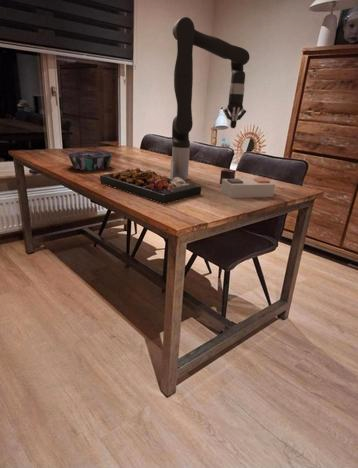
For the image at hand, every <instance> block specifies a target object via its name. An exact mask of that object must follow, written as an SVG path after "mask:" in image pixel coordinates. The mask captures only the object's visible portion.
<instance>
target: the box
mask: <svg viewBox="0 0 358 468" xmlns="http://www.w3.org/2000/svg"><path fill="white" fill-rule="evenodd" d="M235 177H236V170H234V169H228V168H224V169H222V170H220V179H219V184H220V185H222V179H236V178H235Z"/></svg>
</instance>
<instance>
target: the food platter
mask: <svg viewBox="0 0 358 468" xmlns="http://www.w3.org/2000/svg"><path fill="white" fill-rule="evenodd" d="M99 181H100V182H101V183H100V182H99V183H100V184H102V183H104V184H103V185H105V184H107V185H106V186H108V185H110V186H109V187H111V186H113V187H112V188H114V187H116V188H115V189H117V188H119V189H118V190H120V189H122V190H121V191H123V190H125V191H124V192H126V191H128V192H127V193H129V192H131V193H130V194H132V193H133V194H132V195H135V194H136V195H135V196H138V195H139V197H141V196H143V197H142V198H144V197H146V198H145V199H147V198H148V200H150V199H152V200H151V201H153V200H155V201H154V202H156V201H158V202H157V203H159V202H161V203H160V204H162V203H166V204H169V203H168V202H170V203H173V202H172V201H174V202H176V200H177V201H181V200H184V198H185V199H188V198H192V197H195V196H199V195H202V186H201V185H197V184H196V183H190V182H187V181H185V179H184V180H183V179H181V178H179V177H174V179H172V178H171V177H168V176H166V175H161V174H158V173H157V172H156V171H154V170H153V171H151V170H150V169H147V170H145V171H144V170H141V169H140V168H139V167H136V168H134V169H133V168H132V169H129V168H128V169H126V170H122V171H120V172H119V171H118V172H112V173H107V174H100V175H99ZM180 199H181V200H180Z"/></svg>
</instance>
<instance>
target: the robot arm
mask: <svg viewBox="0 0 358 468" xmlns="http://www.w3.org/2000/svg"><path fill="white" fill-rule="evenodd" d="M172 36H173V37H174V39H175V40H176V41H177V43H176V44H177V45H176V48H177V50H176V51H177V52H176V58H175V59H176V60H175V64H174V71H173V88H174V89H173V90H174V94H175V99H176V109H177V110H176V116H175V117H174V118H173V120H172V124H171V125H172V128H171V141H172V148H171V149H172V151H171V152H172V153H171V155H172V156H171V160H170V174H169V175H170V176H169V178H171V179H174V177H179V178H181V179H183V180H184V179H185V180H188V179H189V164H190V149H191V147H190V146H191V141H190V132H191V131H192V128H193V124H194V123H193V109H192V102H193V101H192V100H193V82H194V81H193V79H194V77H193V75H194V74H193V73H194V70H193V69H194V68H193V67H194V66H193V65H194V64H193V61H194V60H193V51H194V50H193V49H194V47H196V48H197V47H198V48H200V49H202V50H205V51H207V52H209V53H211V54H213V55H215V56H217V57H219V58H221V59H224V60H229V61H230V67H231V69H230V71H231V76H230V77H231V79H230V86H229V91H228V93H229V94H228V101H227V102H228V103H227V107H226V108H223V109H222V111H223V113H224V115H225V117H226V118H227V120H230V125H229V127H230V129H235V128H236V127H237V122H238V121H240V120H241V119H242V118H243V117H244V115H245V114H246V113H247V110H246V109H244V106H243V103H244V95H245V84H246V83H245V82H246V72H245V71H244V65H246V64H247V63H248V62H249V61H250V56H251V55H250V54H249V52H248V50H247V49H245V48H243V47H241V46H238V45H234V44H232V43H229V42H228V41H225V40H224V39H221V38H219V37H215V36H213V35H208V34H206V33H203V32H201V31H199V30H197V29H195V23H194V22H193V20H192V19H191V18H190V17H189V16H182V17H180V18H179V19H178V20H177V21H176V22H175V23H174V25H173V27H172ZM185 180H184V181H185Z"/></svg>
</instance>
